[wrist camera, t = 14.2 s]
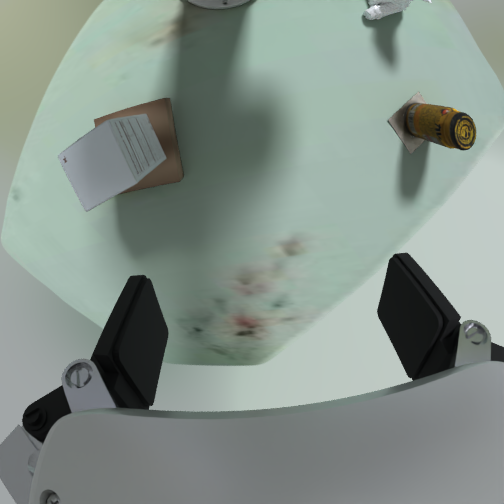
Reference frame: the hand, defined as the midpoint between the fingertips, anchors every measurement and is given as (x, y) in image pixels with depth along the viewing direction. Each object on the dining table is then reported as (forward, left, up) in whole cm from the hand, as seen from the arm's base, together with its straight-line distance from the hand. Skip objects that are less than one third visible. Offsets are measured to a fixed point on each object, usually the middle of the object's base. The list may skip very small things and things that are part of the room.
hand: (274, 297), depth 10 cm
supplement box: (-4, -15, -29) cm, 33 cm away
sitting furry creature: (-26, +24, -32) cm, 48 cm away
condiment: (-4, +28, -32) cm, 43 cm away
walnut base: (-4, -16, -32) cm, 36 cm away
